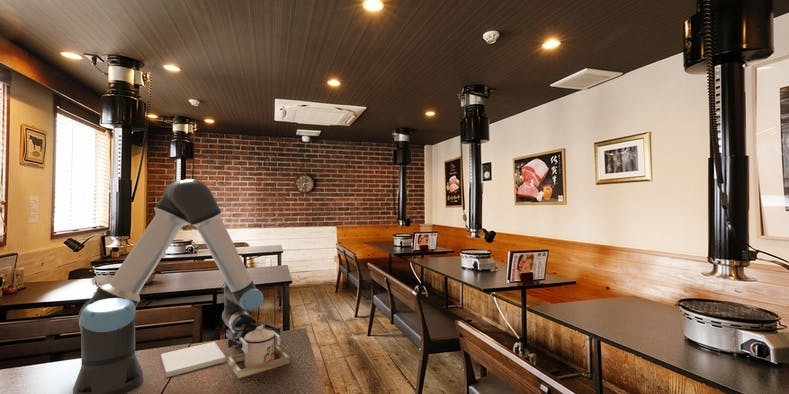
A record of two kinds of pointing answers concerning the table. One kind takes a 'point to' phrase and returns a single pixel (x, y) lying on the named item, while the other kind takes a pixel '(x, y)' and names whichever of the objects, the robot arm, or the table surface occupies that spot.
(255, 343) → the teacup with lid
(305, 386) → the table surface
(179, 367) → the ceramic board
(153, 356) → the table surface
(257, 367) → the cup holder
